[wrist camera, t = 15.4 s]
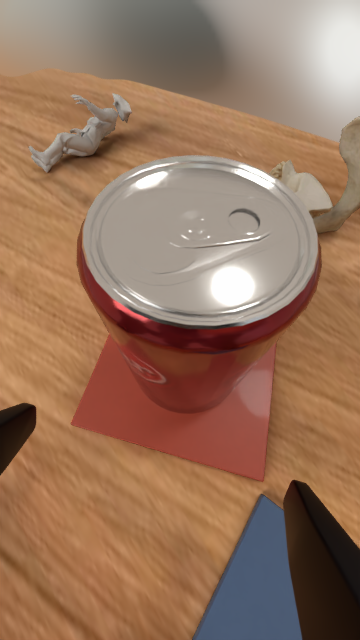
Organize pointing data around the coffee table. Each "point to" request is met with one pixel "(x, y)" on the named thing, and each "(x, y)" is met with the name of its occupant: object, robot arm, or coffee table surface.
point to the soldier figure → (83, 133)
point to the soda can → (197, 273)
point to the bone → (356, 151)
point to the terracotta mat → (182, 417)
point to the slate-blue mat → (255, 585)
